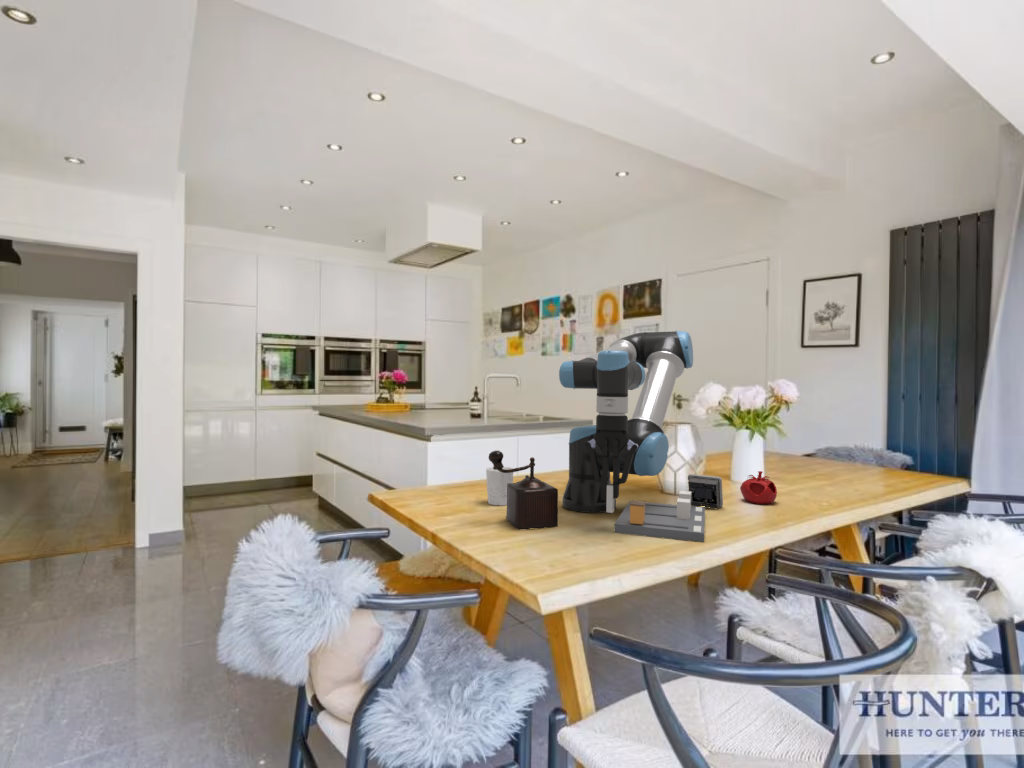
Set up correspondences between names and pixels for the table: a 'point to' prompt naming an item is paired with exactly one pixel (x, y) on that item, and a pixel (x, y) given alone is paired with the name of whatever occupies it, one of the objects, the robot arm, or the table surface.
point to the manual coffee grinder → (528, 498)
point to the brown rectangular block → (637, 512)
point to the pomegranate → (759, 490)
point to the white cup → (498, 485)
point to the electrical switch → (705, 490)
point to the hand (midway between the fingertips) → (610, 511)
